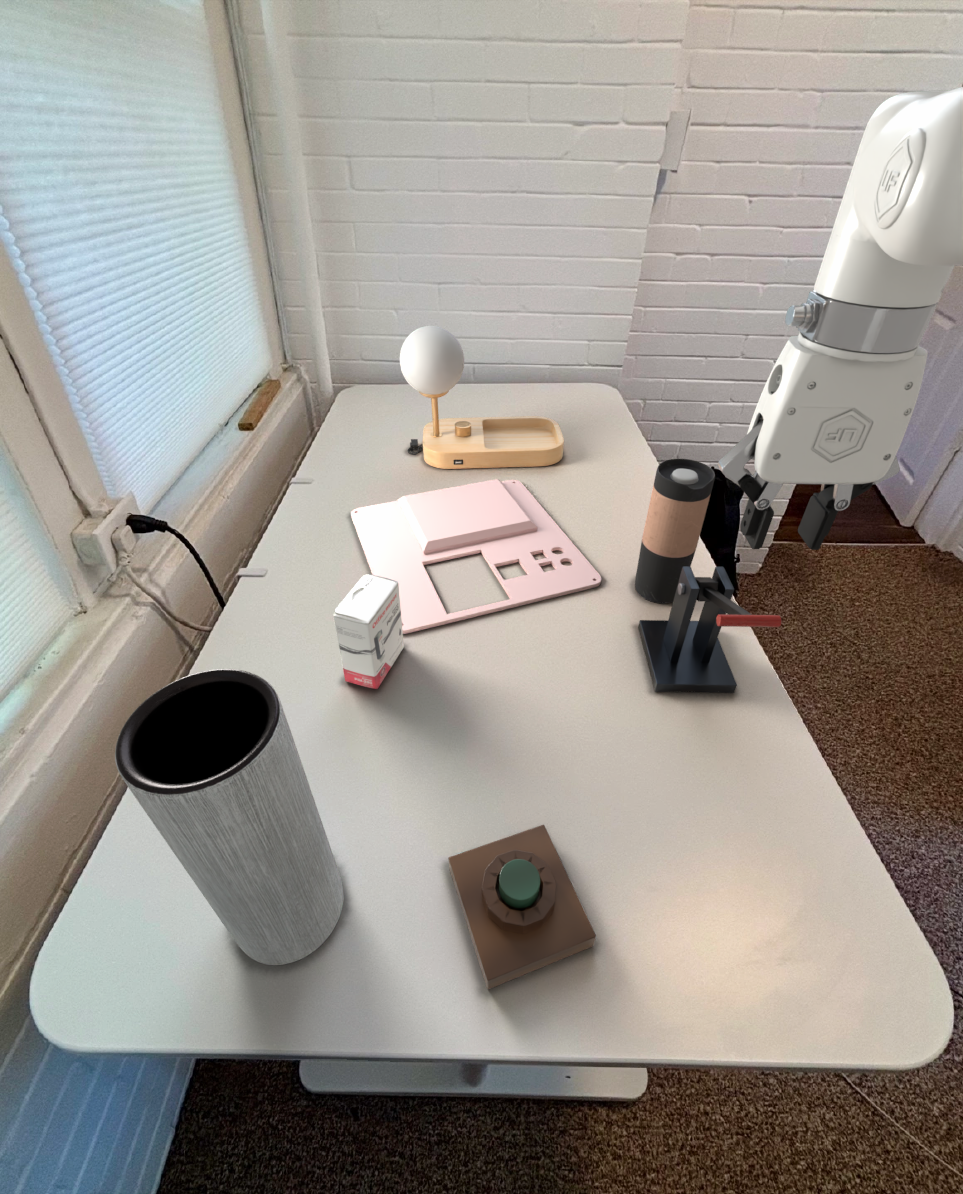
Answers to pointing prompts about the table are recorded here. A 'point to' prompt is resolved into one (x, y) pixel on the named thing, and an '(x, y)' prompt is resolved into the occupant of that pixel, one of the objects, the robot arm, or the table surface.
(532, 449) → the lamp
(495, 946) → the block
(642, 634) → the bracket
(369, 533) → the panel
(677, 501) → the travel mug
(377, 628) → the ink box
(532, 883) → the button
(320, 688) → the table surface
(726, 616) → the lever
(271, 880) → the vase
